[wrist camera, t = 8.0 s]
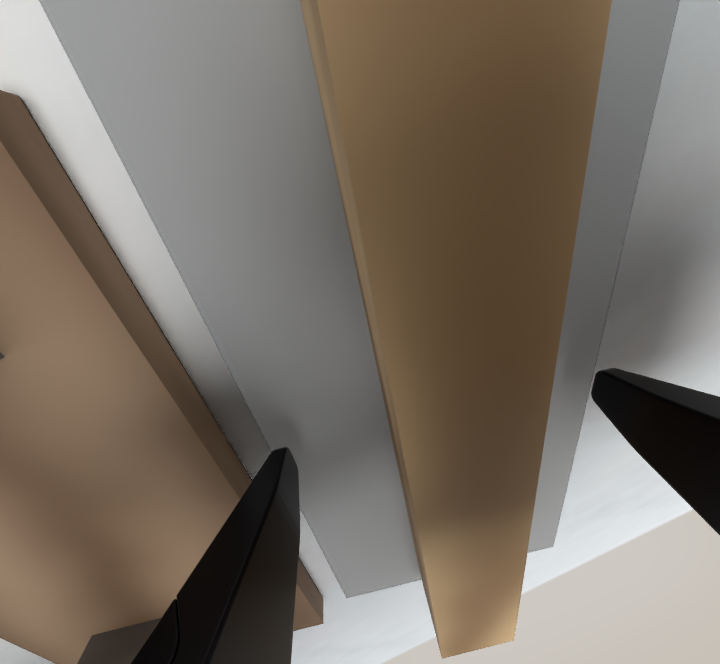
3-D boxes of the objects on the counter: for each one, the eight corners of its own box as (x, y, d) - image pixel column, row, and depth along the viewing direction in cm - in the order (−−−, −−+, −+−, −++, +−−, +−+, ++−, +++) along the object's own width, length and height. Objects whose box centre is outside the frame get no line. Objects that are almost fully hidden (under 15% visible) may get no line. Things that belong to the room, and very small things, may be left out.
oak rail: (419, 569, 14) (442, 658, 11) (259, -191, 4) (123, -1018, 1) (477, 555, 14) (513, 640, 11) (470, -236, 4) (785, -1130, 1)
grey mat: (345, 583, 15) (346, 598, 14) (-39, -200, 4) (-95, -260, 3) (545, 534, 15) (553, 546, 15) (721, -357, 4) (780, -438, 4)
